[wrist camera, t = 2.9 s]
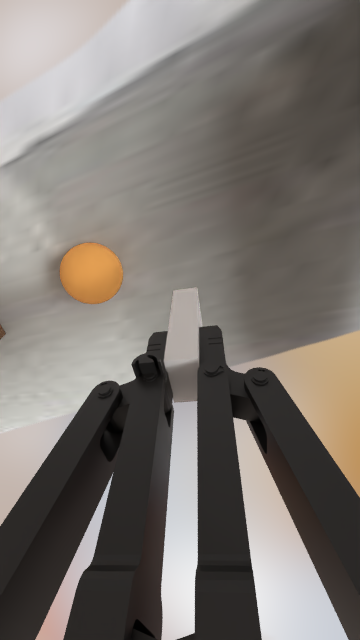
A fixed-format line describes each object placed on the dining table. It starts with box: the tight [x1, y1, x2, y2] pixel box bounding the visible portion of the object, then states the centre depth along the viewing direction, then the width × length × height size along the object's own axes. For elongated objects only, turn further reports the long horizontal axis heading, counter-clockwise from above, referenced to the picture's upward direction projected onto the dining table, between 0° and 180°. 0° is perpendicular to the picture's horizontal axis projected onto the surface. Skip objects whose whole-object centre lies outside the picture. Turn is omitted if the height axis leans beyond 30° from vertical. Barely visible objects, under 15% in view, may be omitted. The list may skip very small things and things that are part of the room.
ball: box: [60, 243, 123, 304], centre depth 26 cm, size 6×6×6 cm
